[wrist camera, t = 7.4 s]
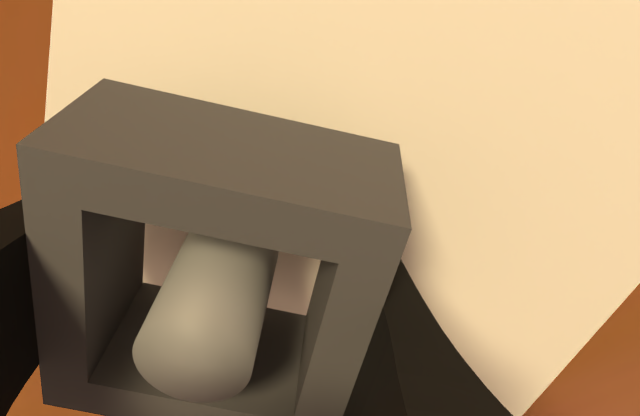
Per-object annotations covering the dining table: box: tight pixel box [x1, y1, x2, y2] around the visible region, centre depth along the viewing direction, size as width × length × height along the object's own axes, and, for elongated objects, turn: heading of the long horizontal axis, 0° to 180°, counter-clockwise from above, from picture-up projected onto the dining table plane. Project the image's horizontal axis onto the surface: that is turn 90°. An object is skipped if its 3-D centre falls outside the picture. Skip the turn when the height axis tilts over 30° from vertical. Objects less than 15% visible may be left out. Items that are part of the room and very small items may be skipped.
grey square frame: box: [16, 78, 412, 416], centre depth 10 cm, size 6×6×3 cm
